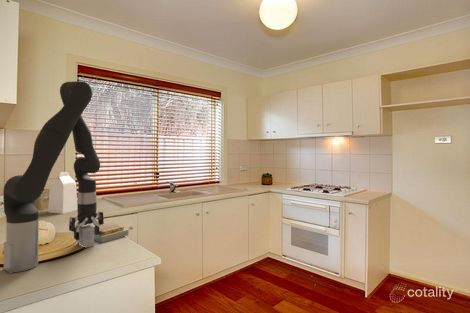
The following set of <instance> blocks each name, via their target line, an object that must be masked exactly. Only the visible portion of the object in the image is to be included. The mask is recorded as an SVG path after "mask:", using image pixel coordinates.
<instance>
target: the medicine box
mask: <svg viewBox="0 0 470 313" xmlns="http://www.w3.org/2000/svg"><path fill="white" fill-rule="evenodd" d="M94 227H95V226H93V225H91V224H87V225H83V227H82V228H81V229H80V230H79V240H76V241H77V242H78V243H80V244H81V245H83V246H86V247H85V248H84V249H86V248H87V249H88V248H91V247H95V240H94ZM78 243H77V244H78Z"/></svg>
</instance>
